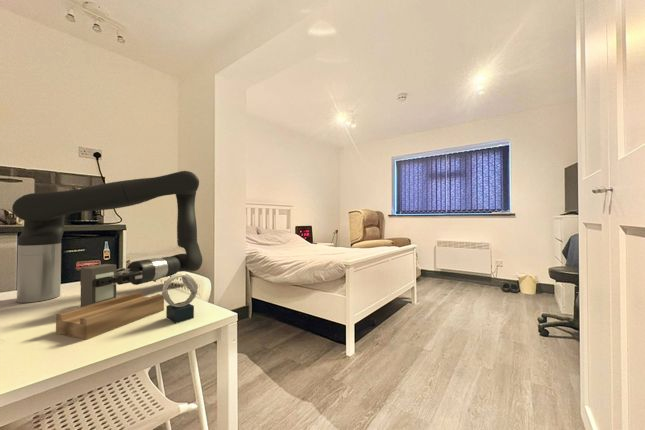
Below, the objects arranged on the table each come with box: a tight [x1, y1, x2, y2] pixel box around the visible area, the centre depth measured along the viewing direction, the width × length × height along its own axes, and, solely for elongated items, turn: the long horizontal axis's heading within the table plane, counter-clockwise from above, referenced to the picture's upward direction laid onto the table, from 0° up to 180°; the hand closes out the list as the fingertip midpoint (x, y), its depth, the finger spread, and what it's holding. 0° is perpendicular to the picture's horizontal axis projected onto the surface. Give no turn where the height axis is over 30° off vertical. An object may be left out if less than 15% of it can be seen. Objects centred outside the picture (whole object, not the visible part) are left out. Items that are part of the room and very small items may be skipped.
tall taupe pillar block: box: [80, 263, 117, 307], centre depth 70 cm, size 5×6×12 cm
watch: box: [161, 273, 199, 325], centre depth 64 cm, size 6×8×11 cm
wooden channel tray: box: [55, 291, 165, 340], centre depth 63 cm, size 10×18×4 cm, turn 163°
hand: (88, 282), depth 68 cm, fingers closed on tall taupe pillar block, 4 cm apart
